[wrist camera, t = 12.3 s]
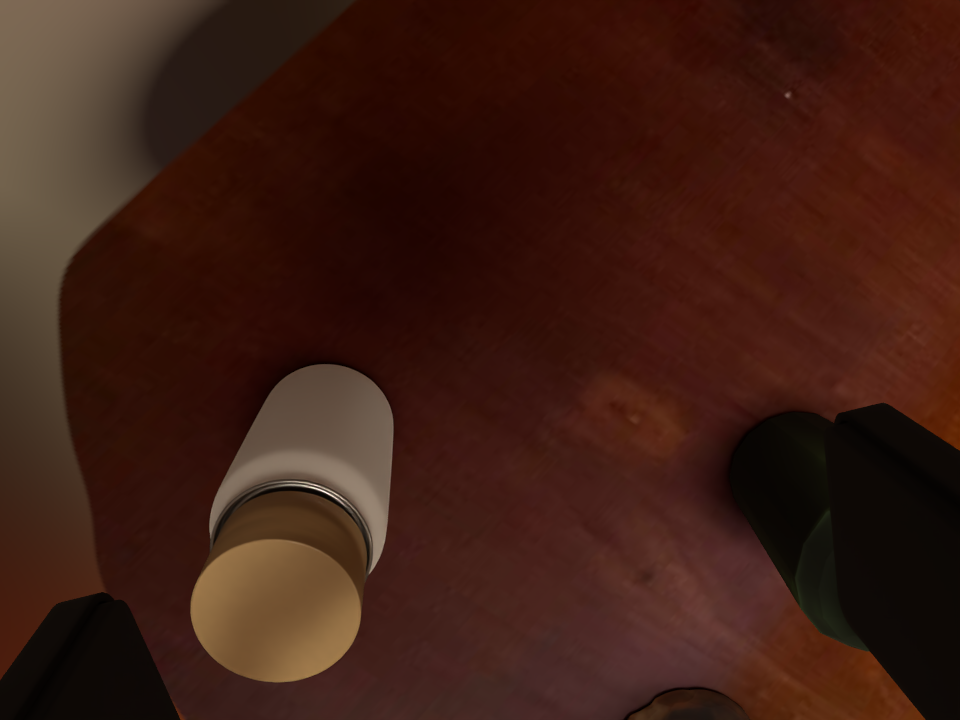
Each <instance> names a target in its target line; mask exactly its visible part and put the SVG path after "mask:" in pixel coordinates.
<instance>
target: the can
mask: <svg viewBox="0 0 960 720" xmlns="http://www.w3.org/2000/svg"><path fill="white" fill-rule="evenodd" d="M392 449H393V416H392V411H391V408H390V405H389V403H388V401H387V399H386V397H385V395H384V394H383V392H382V391H381V390H380V389H379V387H378V386H377V385H376V384H375V383H374V382H373V381H371V380H370V379H369V378H368V377H366V376H365V375H363V374H361V373H359V372H358V371H355V370H353V369H350V368H347V367H344V366H340V365H333V364H319V365H312V366H308V367H304V368H301V369H299V370H297V371H294V372H293V373H291V374H289V375H288V376H286V377H285V378H283V379H282V380H281V381H280V382H279V383H278V384H277V385H276V386H275V387H274V389H273V390H272V391H271V393H270V394H269V396H268V397H267V399H266V401H265V402H264V404H263V406H262V408H261V410H260V411H259V413H258V415H257V417H256V419H255V421H254V423H253V425H252V426H251V428H250V430H249V432H248V434H247V436H246V438H245V440H244V441H243V443H242V445H241V447H240V449H239V451H238V453H237V455H236V457H235V459H234V461H233V462H232V464H231V466H230V468H229V470H228V472H227V474H226V476H225V478H224V480H223V482H222V484H221V486H220V488H219V490H218V493H217V495H216V497H215V500H214V503H213V506H212V510H211V515H210V537H211V539H210V552H211V550H212V548H213V546H214V544H215V542H216V539H217V537H218V535H219V533H220V531H221V529H222V527H223V525H224V524H225V522H226V521H227V520H228V518H229V517H230V516H231V515H232V514H233V513H234V512H235V511H236V510H237V509H238V508H240V507H241V506H242V505H244V504H245V503H247V502H249V501H250V500H252V499H254V498H257V497H259V496H262V495H265V494H269V493H273V492H280V491H299V492H306V493H311V494H314V495H317V496H320V497H323V498H325V499H327V500H329V501H331V502H333V503H334V504H336V505H337V506H339V507H340V508H341V509H343V510H344V511H345V512H346V513H347V514H348V515H349V516H350V517H351V518H352V519H353V520H354V522H355V523H356V525H357V526H358V528H359V529H360V531H361V533H362V535H363V538H364V541H365V545H366V550H367V566H366V575H365V581H366V579H367V577H368V575H369V574H370V572H371V571H372V570H373V568H374V567H375V565H376V563H377V562H378V560H379V558H380V555H381V553H382V549H383V546H384V542H385V538H386V530H387V521H388V508H389V495H390V481H391V466H392Z"/></svg>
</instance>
